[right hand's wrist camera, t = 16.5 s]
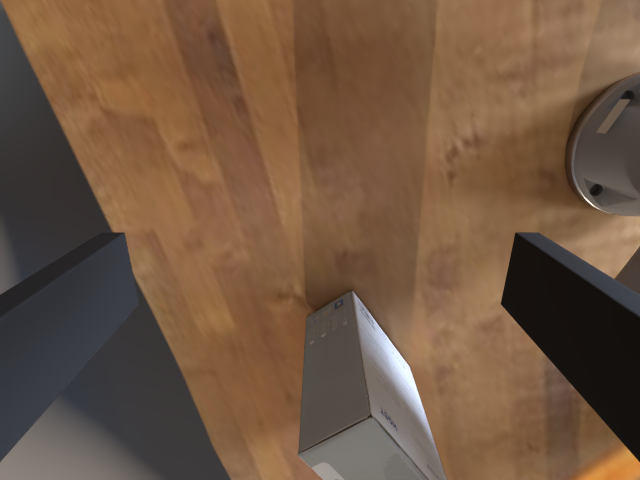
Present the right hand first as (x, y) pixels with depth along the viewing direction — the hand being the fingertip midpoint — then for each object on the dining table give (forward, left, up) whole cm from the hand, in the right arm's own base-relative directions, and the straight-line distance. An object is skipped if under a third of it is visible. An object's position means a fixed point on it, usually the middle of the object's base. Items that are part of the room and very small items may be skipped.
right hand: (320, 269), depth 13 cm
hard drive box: (-7, +25, -30) cm, 40 cm away
